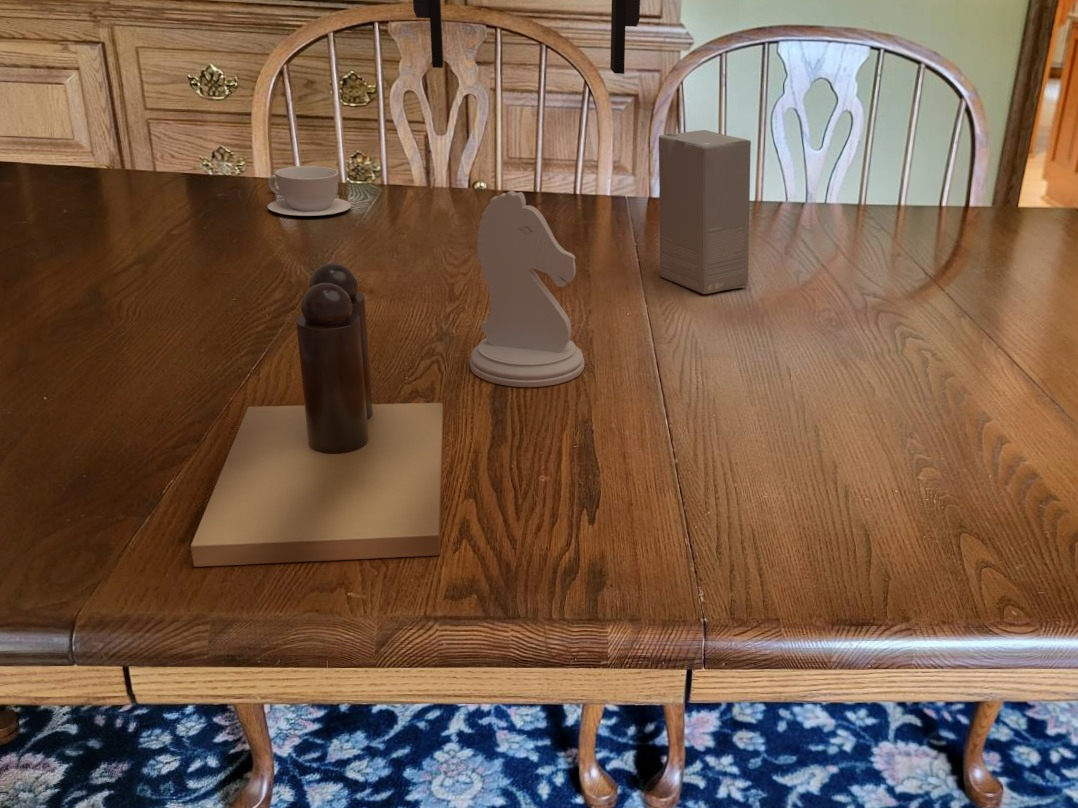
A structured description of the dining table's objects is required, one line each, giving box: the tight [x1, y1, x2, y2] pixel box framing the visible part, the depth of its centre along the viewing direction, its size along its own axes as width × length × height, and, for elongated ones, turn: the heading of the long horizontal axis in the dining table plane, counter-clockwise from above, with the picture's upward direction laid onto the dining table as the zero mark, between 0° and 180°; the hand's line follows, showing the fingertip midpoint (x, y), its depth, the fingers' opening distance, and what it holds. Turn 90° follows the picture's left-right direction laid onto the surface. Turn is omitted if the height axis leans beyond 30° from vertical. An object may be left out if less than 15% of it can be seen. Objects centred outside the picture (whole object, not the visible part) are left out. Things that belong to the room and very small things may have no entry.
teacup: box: [267, 165, 352, 217], centre depth 137 cm, size 10×10×5 cm
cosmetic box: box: [658, 129, 752, 295], centre depth 117 cm, size 8×7×16 cm
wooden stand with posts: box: [190, 262, 444, 568], centre depth 71 cm, size 14×20×13 cm
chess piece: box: [469, 189, 585, 388], centre depth 92 cm, size 10×10×15 cm
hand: (528, 69), depth 84 cm, fingers open, 13 cm apart
